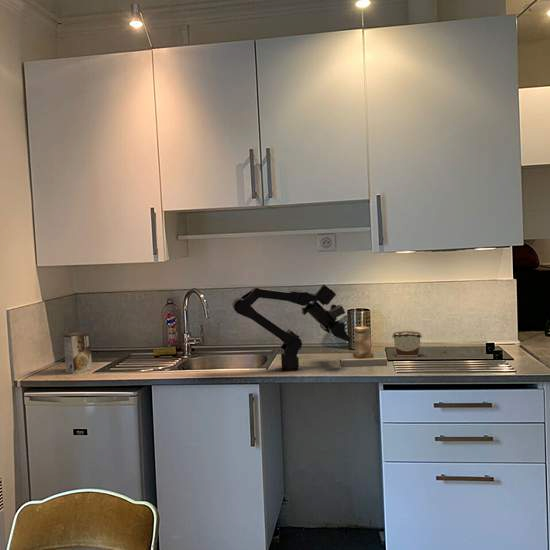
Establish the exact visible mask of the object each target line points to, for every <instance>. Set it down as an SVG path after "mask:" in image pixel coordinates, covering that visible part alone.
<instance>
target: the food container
mask: <svg viewBox="0 0 550 550" xmlns="http://www.w3.org/2000/svg"><path fill="white" fill-rule="evenodd" d="M391 336H392V339H393V342H394V350H395V355H420V346H421V345H420V344H421V339H422V333H421V332H418V331H415V330H414V331H413V330H403V331H395V332H393V333H392V335H391Z"/></svg>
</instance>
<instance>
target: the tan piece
mask: <svg viewBox="0 0 550 550" xmlns="http://www.w3.org/2000/svg"><path fill="white" fill-rule="evenodd" d="M353 329H354V330H353V333H354V334H353V335H354V350H353V351H352V354H353V356H354V357H356V358H358V359H362V358H374V356H373V353H374V352H372V346H371V345H372V344H371V343H372V342H371V341H372V340H371V328H370V327H369V326H366V325H365V326H364V325H363V326H354V327H353Z"/></svg>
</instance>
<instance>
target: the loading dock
mask: <svg viewBox="0 0 550 550" xmlns="http://www.w3.org/2000/svg"><path fill="white" fill-rule="evenodd" d="M372 353H373V356H374V358H362V359H358V358H356V357H354V356H353V353H340V354H339V355H340V365H341V367H342V368H343V367H344V368H346V367H373V366H374V367H375V366H376V367H377V366H379V367H380V366H381V365H383V366H388V358H387V357H386V355H385V352H372ZM381 367H382V366H381Z"/></svg>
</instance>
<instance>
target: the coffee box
mask: <svg viewBox="0 0 550 550" xmlns="http://www.w3.org/2000/svg"><path fill="white" fill-rule="evenodd" d="M90 334H91V333H90V332H86V331H79V332H73V333H67V334H64V335H63V336H62V337H63V346H64V347H63V348H64V361H65V373H68V374H73V375H75V374H80V373H84V372H87V371H88V372H89V371H91V370H93V360H92V349H91V348H92V347H91V335H90Z"/></svg>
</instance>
